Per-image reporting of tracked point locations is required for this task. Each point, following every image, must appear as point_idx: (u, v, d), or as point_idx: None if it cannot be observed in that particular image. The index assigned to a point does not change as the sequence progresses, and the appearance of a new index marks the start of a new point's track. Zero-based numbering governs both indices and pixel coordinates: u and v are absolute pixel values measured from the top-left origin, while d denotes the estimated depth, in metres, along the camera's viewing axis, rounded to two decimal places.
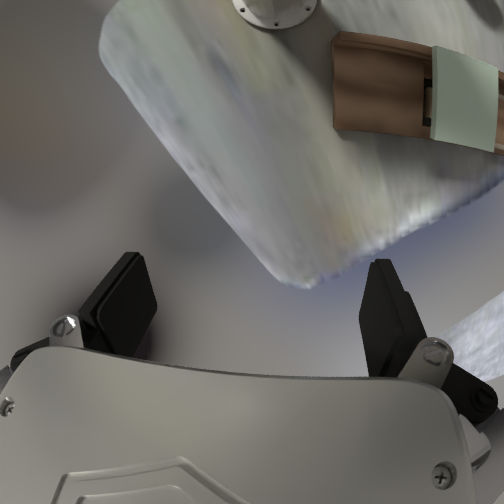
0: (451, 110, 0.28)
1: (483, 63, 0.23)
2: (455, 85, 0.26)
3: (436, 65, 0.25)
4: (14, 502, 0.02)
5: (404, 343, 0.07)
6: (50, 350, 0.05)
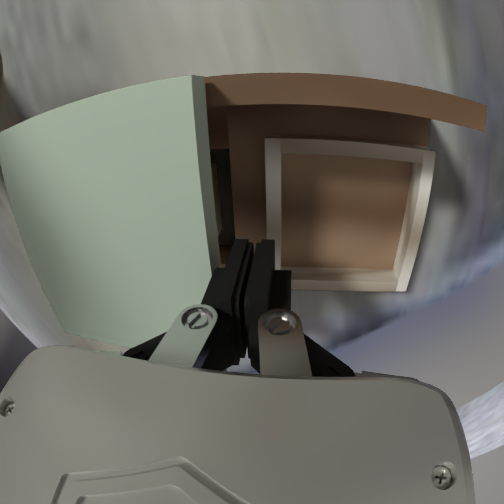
0: (63, 281, 0.13)
1: (113, 97, 0.08)
2: (47, 220, 0.11)
3: (8, 184, 0.11)
4: (14, 502, 0.02)
5: (255, 312, 0.09)
6: (50, 350, 0.05)
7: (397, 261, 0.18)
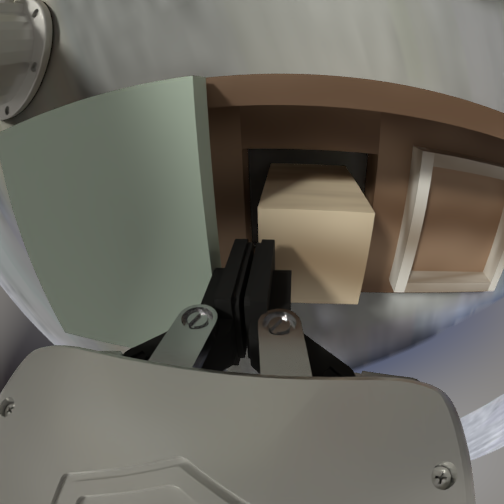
0: (63, 280, 0.13)
1: (114, 97, 0.08)
2: (48, 220, 0.11)
3: (9, 183, 0.11)
4: (14, 502, 0.02)
5: (255, 312, 0.09)
6: (50, 350, 0.05)
7: (490, 264, 0.17)
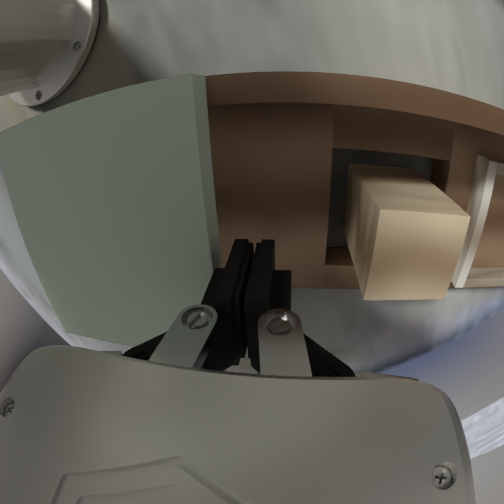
0: (64, 280, 0.13)
1: (114, 96, 0.08)
2: (49, 219, 0.11)
3: (9, 183, 0.11)
4: (14, 502, 0.02)
5: (255, 312, 0.09)
6: (50, 350, 0.05)
7: None
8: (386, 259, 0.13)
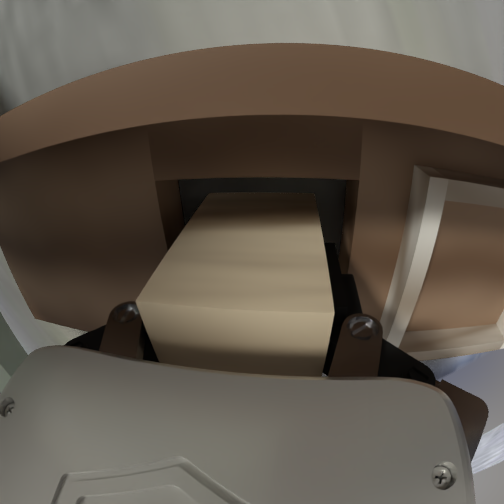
0: None
1: None
2: None
3: None
4: (14, 502, 0.02)
5: None
6: (50, 350, 0.05)
7: None
8: (180, 364, 0.08)
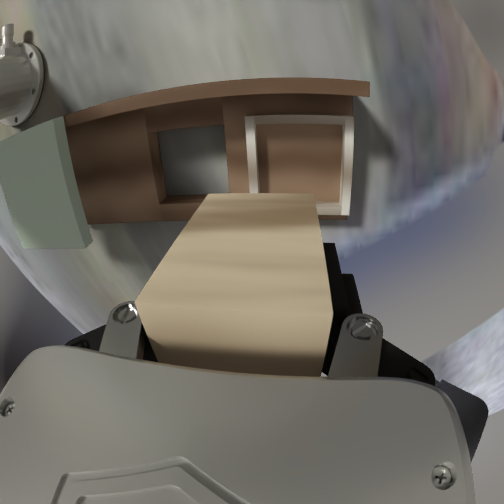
0: (21, 213, 0.24)
1: (33, 129, 0.19)
2: (15, 182, 0.22)
3: None
4: (14, 502, 0.02)
5: (333, 318, 0.08)
6: (50, 350, 0.05)
7: (340, 194, 0.27)
8: (179, 364, 0.08)
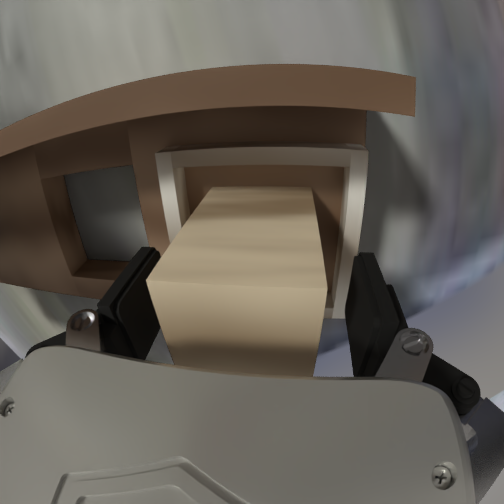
0: None
1: None
2: None
3: None
4: (14, 502, 0.02)
5: (383, 333, 0.08)
6: (50, 350, 0.05)
7: (334, 283, 0.16)
8: (185, 342, 0.09)
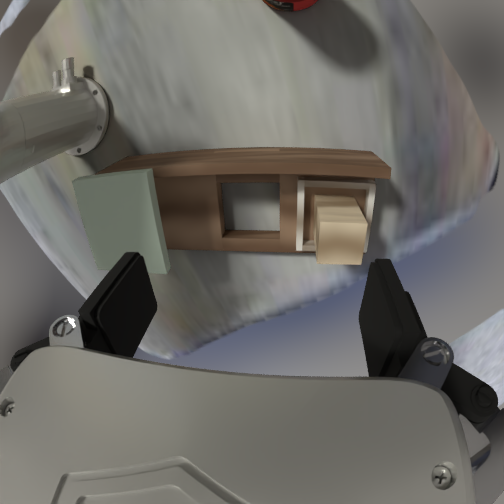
0: (102, 241, 0.34)
1: (123, 176, 0.29)
2: (98, 216, 0.32)
3: (78, 201, 0.32)
4: (14, 502, 0.02)
5: (404, 343, 0.07)
6: (50, 350, 0.05)
7: None
8: (325, 243, 0.30)
